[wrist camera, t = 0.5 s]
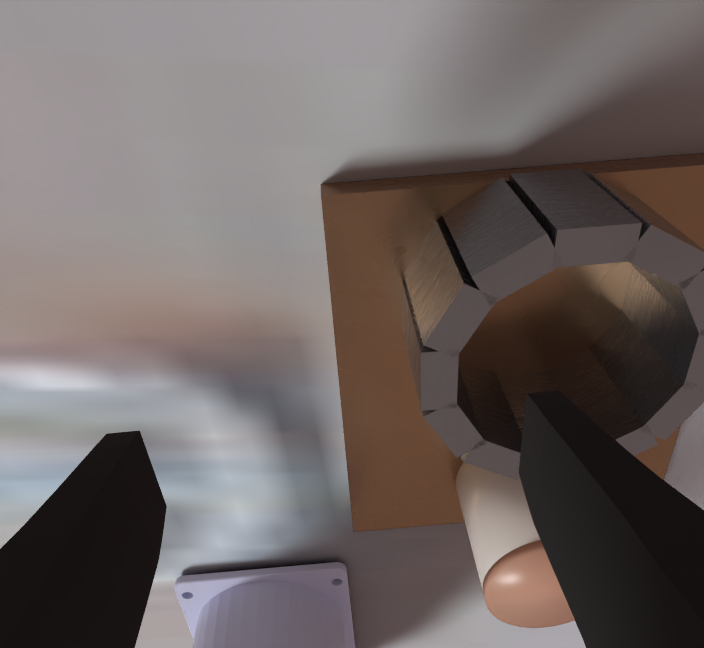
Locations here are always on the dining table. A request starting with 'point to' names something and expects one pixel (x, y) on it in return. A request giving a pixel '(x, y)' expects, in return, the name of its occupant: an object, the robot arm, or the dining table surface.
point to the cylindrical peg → (509, 551)
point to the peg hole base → (510, 318)
